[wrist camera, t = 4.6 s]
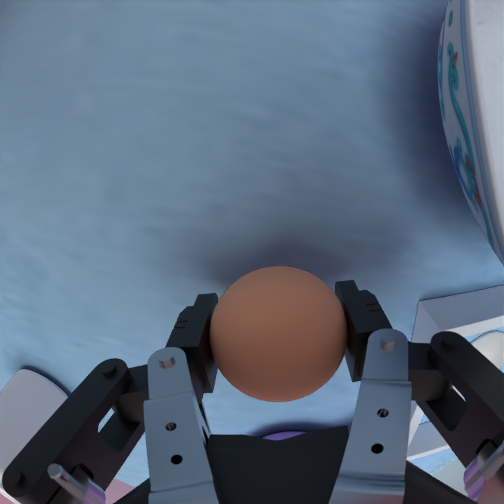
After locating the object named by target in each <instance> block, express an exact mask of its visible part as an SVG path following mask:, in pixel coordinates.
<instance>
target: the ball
mask: <svg viewBox="0 0 504 504" xmlns="http://www.w3.org/2000/svg"><path fill="white" fill-rule="evenodd" d="M347 340H348V328H347V321H346V316H345V312H344V310H343V307H342V305H341V303H340V301H339V299H338V298H337V296H336V294H335V293H334V292H333V291H332V290H331V288H330V287H329V286H328V285H327V284H326V283H324V282H323V281H322V280H321V279H319V278H318V277H316V276H315V275H313V274H311V273H309V272H307V271H305V270H302V269H298V268H294V267H289V266H271V267H264V268H261V269H257V270H254V271H252V272H250V273H248V274H246V275H244V276H242V277H241V278H239V279H238V280H237V281H235V282H234V283H233V284H232V285H231V286H230V287H229V288H228V289H227V290H226V291H225V292H224V294H223V295H222V297H221V298H220V299H219V301H218V303H217V305H216V307H215V309H214V312H213V315H212V318H211V324H210V346H211V351H212V354H213V357H214V360H215V362H216V364H217V366H218V368H219V370H220V372H221V373H222V374H223V376H224V377H225V378H226V379H227V380H228V381H229V382H230V383H231V384H232V385H233V386H234V387H235V388H237V389H238V390H240V391H241V392H243V393H244V394H246V395H248V396H251V397H253V398H256V399H259V400H264V401H270V402H286V401H292V400H296V399H300V398H303V397H305V396H307V395H310V394H311V393H313V392H315V391H316V390H318V389H319V388H321V387H322V386H323V385H324V384H325V383H327V382H328V381H329V379H330V378H331V377H332V376H333V375H334V373H335V372H336V370H337V369H338V368H339V366H340V364H341V361H342V359H343V357H344V354H345V351H346V346H347Z"/></svg>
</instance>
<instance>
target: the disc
mask: <svg viewBox="0 0 504 504" xmlns="http://www.w3.org/2000/svg"><path fill="white" fill-rule="evenodd" d="M471 344H472V345H473V346H474V347H475V348H476V349H477V350H478V351H480V352H481V353H482V354H483V355H484V356H485V357H486V358H487V359H488V360H490V361H491V362H492V363H493V364H494V365H495V366H496V367H497V368H498V369H499V370H500V368H501V367H502V365H503V363H504V333H503V332H500V331H492V332H488V333H486V334H484V335H481V336H480V337H478V338H476V339H475V340H474V341H472V342H471ZM453 388H454V390H455V391H456V392H457V393H458V394H459V395H460V396H462V395H461V394H460V392H459V391H458V390H457V389H456V388H455V387H454V386H453Z"/></svg>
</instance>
